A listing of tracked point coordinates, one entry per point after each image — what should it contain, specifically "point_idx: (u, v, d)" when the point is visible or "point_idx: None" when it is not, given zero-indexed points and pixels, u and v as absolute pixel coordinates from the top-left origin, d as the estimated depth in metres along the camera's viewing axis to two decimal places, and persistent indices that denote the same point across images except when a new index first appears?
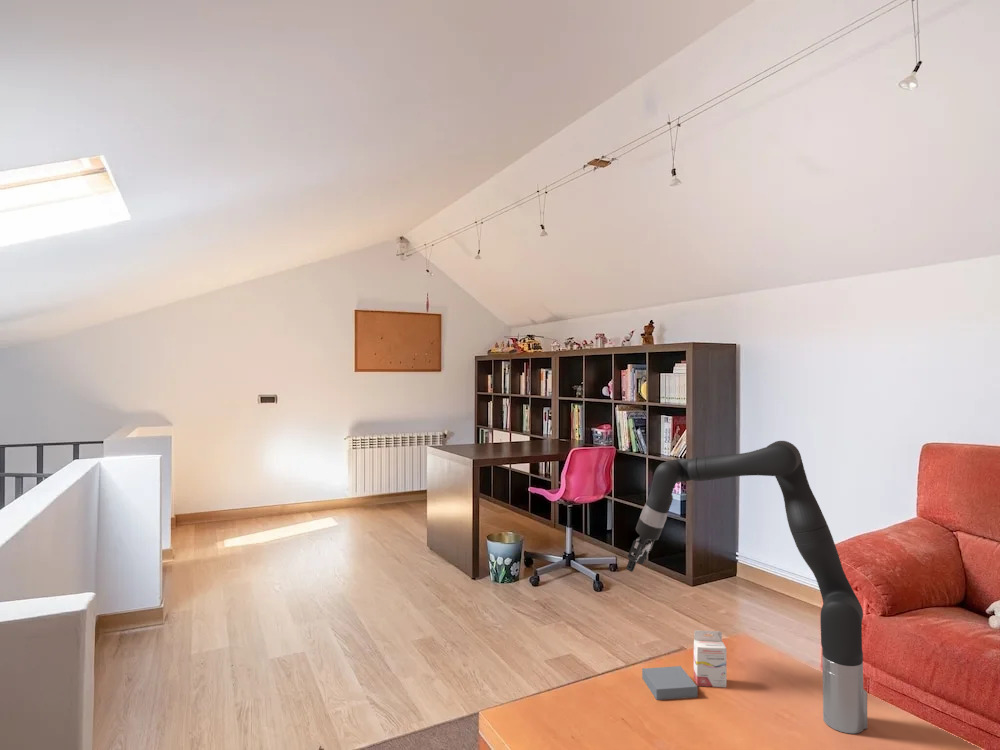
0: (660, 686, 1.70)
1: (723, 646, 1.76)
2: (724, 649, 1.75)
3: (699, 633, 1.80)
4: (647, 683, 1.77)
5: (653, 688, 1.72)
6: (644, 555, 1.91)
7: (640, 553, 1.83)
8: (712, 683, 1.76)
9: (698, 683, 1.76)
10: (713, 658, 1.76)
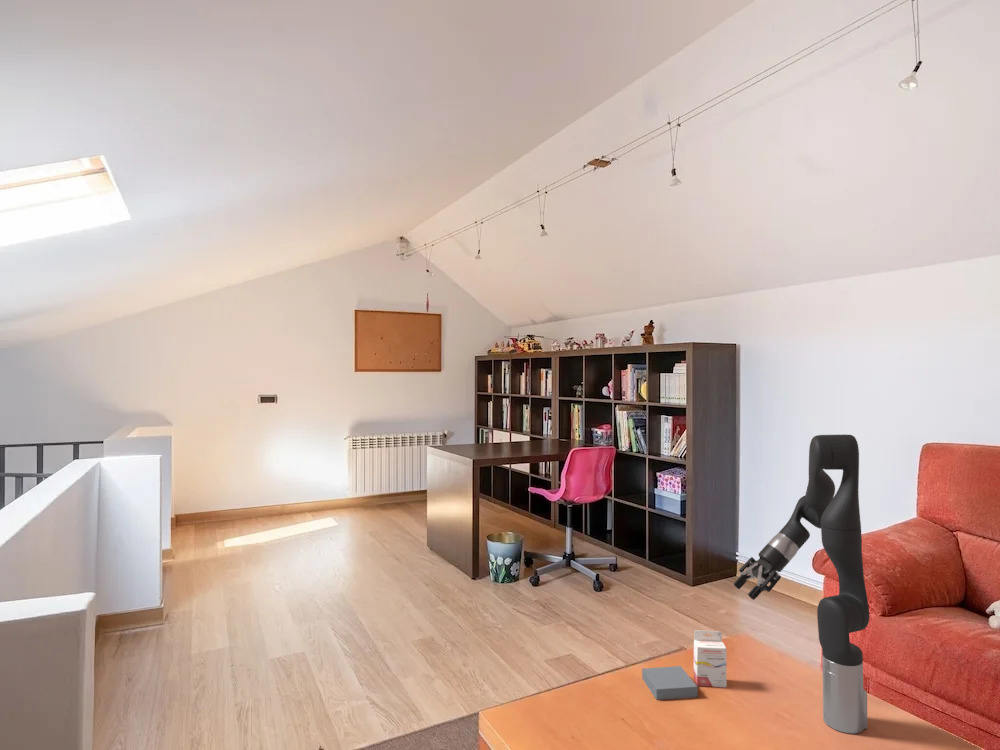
0: (660, 686, 1.70)
1: (723, 646, 1.76)
2: (724, 649, 1.75)
3: (699, 633, 1.80)
4: (647, 683, 1.77)
5: (653, 688, 1.72)
6: None
7: None
8: (712, 683, 1.76)
9: (698, 683, 1.76)
10: (713, 658, 1.76)
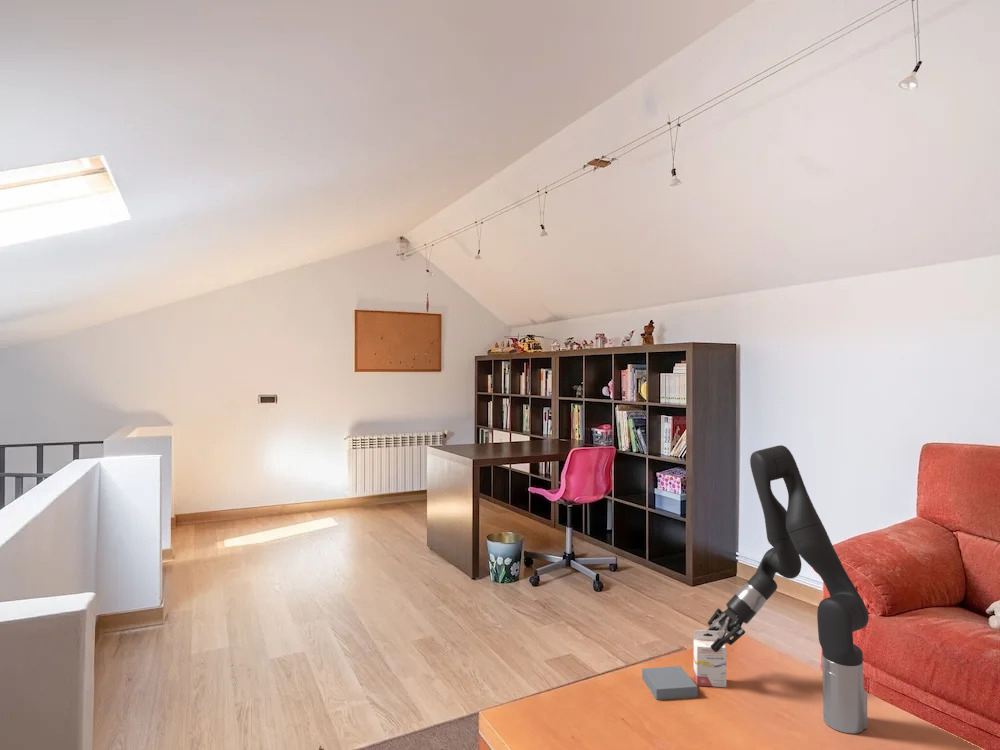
0: (660, 686, 1.70)
1: (723, 646, 1.76)
2: (724, 649, 1.75)
3: (699, 633, 1.80)
4: (647, 683, 1.77)
5: (653, 688, 1.72)
6: None
7: None
8: (712, 683, 1.76)
9: (698, 683, 1.76)
10: (712, 658, 1.76)
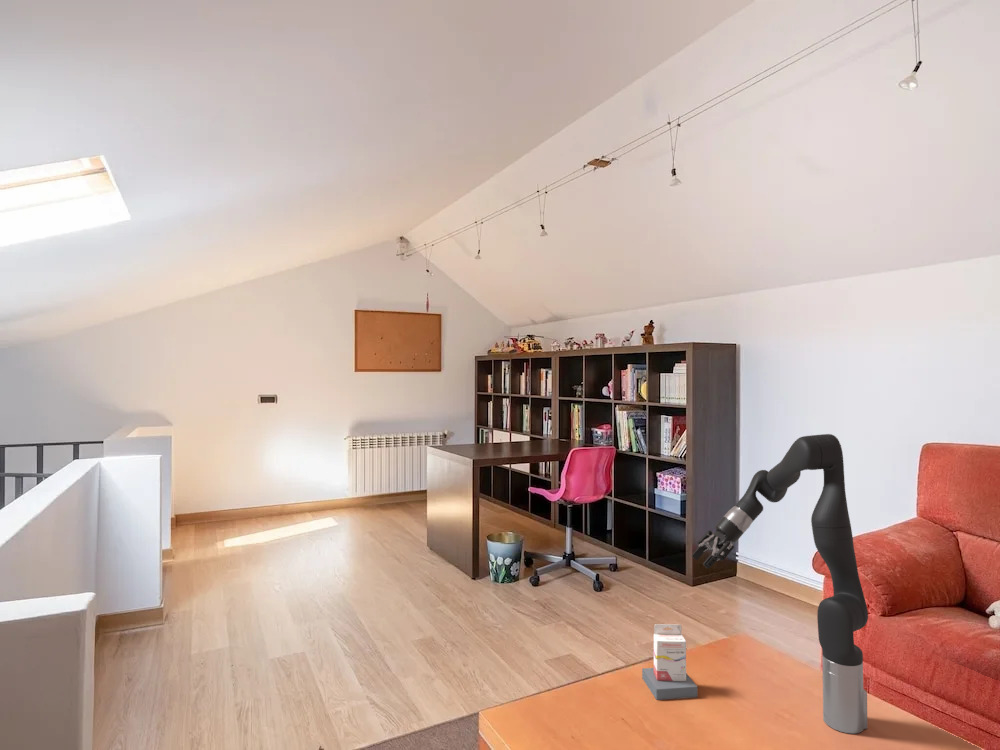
0: (660, 686, 1.70)
1: (683, 639, 1.74)
2: (684, 642, 1.73)
3: (659, 627, 1.78)
4: (647, 683, 1.77)
5: (653, 688, 1.72)
6: None
7: None
8: (672, 677, 1.74)
9: (658, 678, 1.74)
10: (672, 652, 1.73)
